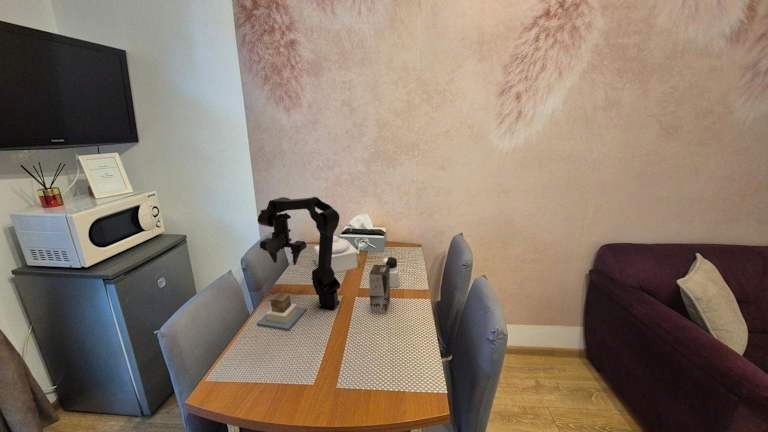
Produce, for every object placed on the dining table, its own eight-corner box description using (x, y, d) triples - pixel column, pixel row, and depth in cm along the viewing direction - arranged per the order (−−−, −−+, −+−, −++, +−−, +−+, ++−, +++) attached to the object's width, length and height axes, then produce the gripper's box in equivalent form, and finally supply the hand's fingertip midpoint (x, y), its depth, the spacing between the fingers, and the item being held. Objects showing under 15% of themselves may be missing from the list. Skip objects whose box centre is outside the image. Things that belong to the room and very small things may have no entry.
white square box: (314, 261, 170) (312, 233, 166) (347, 255, 177) (346, 227, 173) (323, 275, 155) (320, 244, 150) (359, 268, 162) (357, 238, 157)
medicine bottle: (398, 279, 149) (398, 255, 146) (397, 287, 142) (397, 262, 139) (383, 279, 150) (382, 255, 146) (381, 287, 143) (380, 262, 140)
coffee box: (386, 314, 123) (385, 275, 119) (369, 312, 125) (368, 274, 120) (390, 301, 132) (390, 264, 127) (375, 299, 133) (374, 263, 129)
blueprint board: (306, 310, 127) (305, 301, 126) (288, 331, 115) (287, 321, 114) (277, 306, 130) (276, 297, 129) (256, 325, 118) (255, 315, 117)
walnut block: (291, 305, 123) (289, 293, 122) (283, 313, 118) (282, 300, 117) (279, 303, 124) (278, 292, 123) (271, 311, 120) (270, 299, 118)
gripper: (248, 233, 128) (253, 269, 132) (291, 237, 123) (295, 274, 128) (265, 224, 138) (270, 258, 143) (305, 227, 133) (308, 262, 138)
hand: (285, 263), depth 137 cm, fingers open, 9 cm apart
